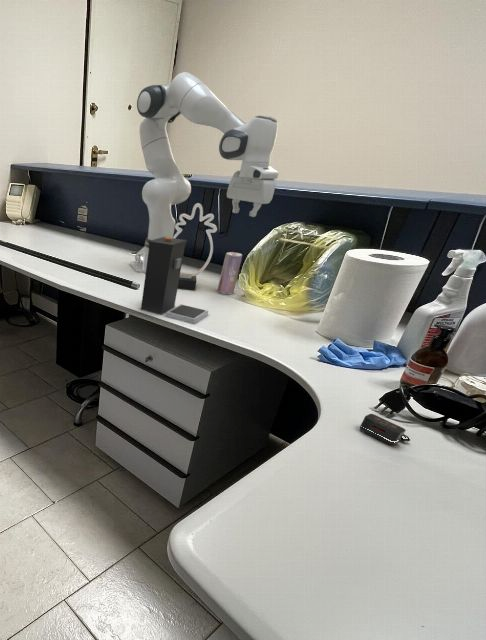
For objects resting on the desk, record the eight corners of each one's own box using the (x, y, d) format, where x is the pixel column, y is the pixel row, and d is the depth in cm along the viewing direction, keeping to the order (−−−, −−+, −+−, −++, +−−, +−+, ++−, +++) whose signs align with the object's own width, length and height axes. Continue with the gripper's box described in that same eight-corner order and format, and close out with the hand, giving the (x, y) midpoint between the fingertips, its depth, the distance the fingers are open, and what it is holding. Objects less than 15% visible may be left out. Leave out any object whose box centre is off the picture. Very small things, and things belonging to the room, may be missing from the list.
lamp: (204, 285, 170) (221, 203, 154) (205, 291, 163) (223, 205, 147) (163, 281, 174) (176, 201, 158) (162, 287, 167) (175, 203, 151)
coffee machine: (139, 309, 143) (148, 238, 131) (154, 301, 151) (164, 234, 139) (194, 323, 132) (209, 247, 120) (207, 314, 139) (223, 242, 127)
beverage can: (230, 290, 164) (239, 252, 157) (235, 294, 159) (244, 255, 151) (215, 289, 165) (224, 251, 157) (219, 294, 160) (228, 255, 152)
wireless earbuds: (396, 449, 77) (404, 436, 76) (357, 429, 83) (363, 416, 81) (409, 442, 79) (417, 429, 78) (370, 423, 85) (376, 410, 83)
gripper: (227, 170, 148) (218, 211, 155) (266, 173, 131) (254, 218, 138) (242, 170, 150) (233, 210, 157) (282, 173, 133) (270, 218, 140)
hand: (243, 214), depth 147 cm, fingers open, 8 cm apart
